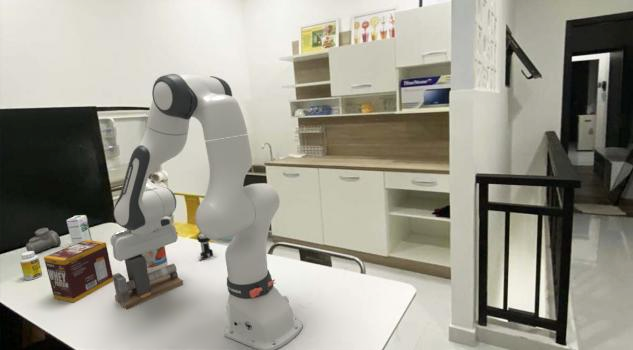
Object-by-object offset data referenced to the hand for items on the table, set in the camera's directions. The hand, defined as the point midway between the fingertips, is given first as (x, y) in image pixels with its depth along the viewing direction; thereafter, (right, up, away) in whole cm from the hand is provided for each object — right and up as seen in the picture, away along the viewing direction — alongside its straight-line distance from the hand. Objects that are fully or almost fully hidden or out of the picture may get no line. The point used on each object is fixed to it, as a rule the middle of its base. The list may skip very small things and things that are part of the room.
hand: (150, 262), depth 120 cm
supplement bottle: (-54, -10, +18) cm, 58 cm away
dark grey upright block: (-2, -9, -2) cm, 9 cm away
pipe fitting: (-71, -6, +45) cm, 84 cm away
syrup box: (-54, -4, +47) cm, 72 cm away
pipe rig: (0, -10, +1) cm, 10 cm away
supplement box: (-26, -11, +6) cm, 29 cm away
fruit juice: (-7, -7, +19) cm, 21 cm away
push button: (+11, -4, +25) cm, 28 cm away
